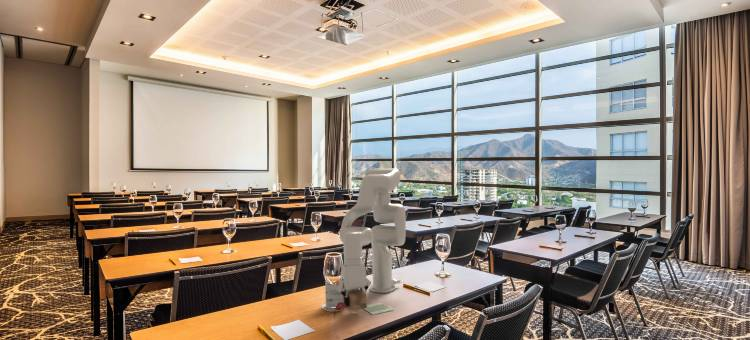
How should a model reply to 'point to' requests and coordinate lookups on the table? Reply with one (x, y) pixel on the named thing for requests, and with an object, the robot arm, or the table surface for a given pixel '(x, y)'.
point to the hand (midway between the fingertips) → (354, 303)
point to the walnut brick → (357, 300)
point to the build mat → (377, 308)
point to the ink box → (333, 296)
